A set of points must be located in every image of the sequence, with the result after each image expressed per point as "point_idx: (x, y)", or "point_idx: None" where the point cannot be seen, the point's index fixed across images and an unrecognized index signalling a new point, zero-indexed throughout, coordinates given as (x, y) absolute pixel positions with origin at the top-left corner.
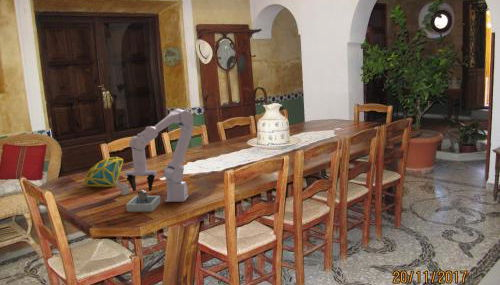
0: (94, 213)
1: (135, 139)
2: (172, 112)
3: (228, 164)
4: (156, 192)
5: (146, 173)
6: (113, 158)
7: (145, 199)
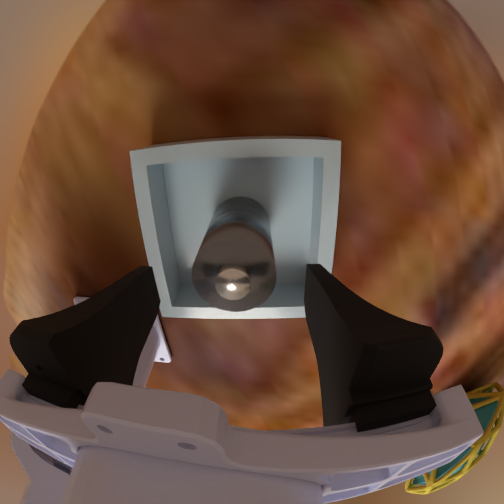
0: (481, 137)
1: None
2: None
3: None
4: (260, 397)
5: (39, 415)
6: (438, 486)
7: (208, 228)
